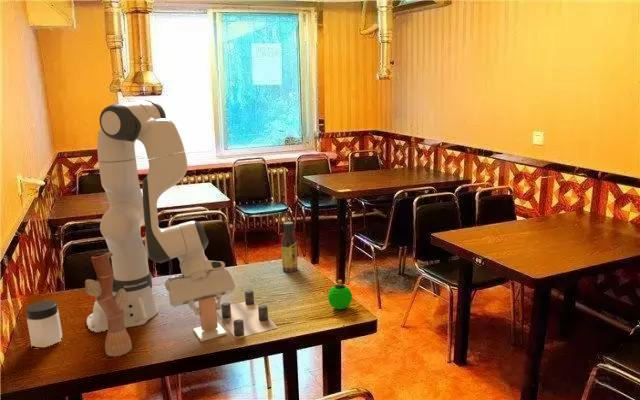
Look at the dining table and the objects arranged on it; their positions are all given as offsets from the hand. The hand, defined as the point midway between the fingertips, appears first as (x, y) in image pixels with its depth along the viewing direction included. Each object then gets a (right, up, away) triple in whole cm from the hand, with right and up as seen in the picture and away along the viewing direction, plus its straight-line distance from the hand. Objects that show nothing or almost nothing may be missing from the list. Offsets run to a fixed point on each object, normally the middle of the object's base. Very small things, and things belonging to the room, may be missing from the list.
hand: (208, 311), depth 156 cm
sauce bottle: (+22, +5, +53) cm, 58 cm away
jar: (-49, -9, 0) cm, 50 cm away
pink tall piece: (-26, -10, -7) cm, 29 cm away
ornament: (+41, -3, +16) cm, 44 cm away
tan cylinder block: (0, -5, +2) cm, 5 cm away
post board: (+9, -5, +11) cm, 16 cm away
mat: (0, -7, +2) cm, 7 cm away
